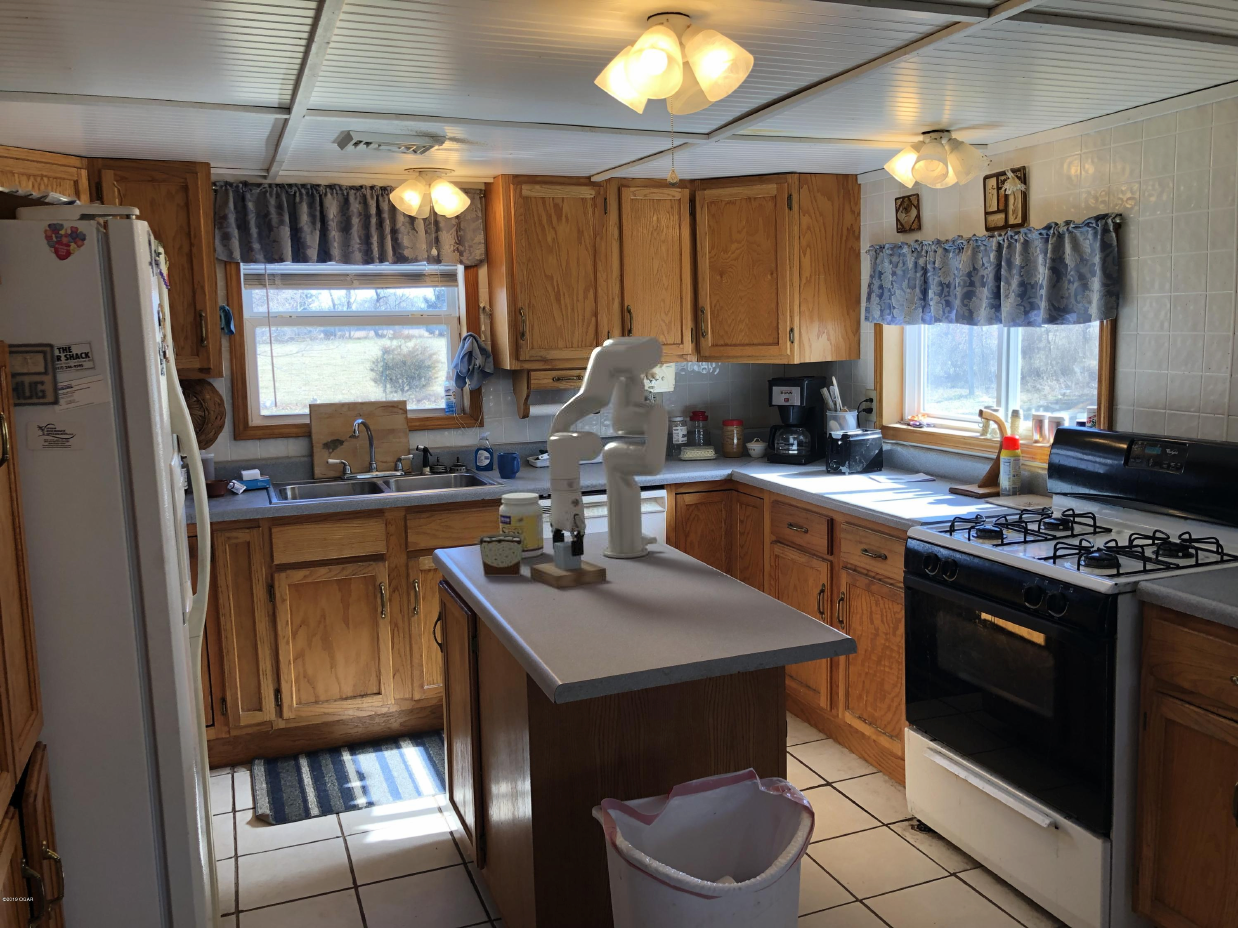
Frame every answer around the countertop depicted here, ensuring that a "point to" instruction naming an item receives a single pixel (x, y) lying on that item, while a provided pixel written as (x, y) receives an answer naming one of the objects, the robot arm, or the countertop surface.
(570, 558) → the slate block
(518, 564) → the food container
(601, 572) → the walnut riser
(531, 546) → the supplement tub
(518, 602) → the countertop surface
